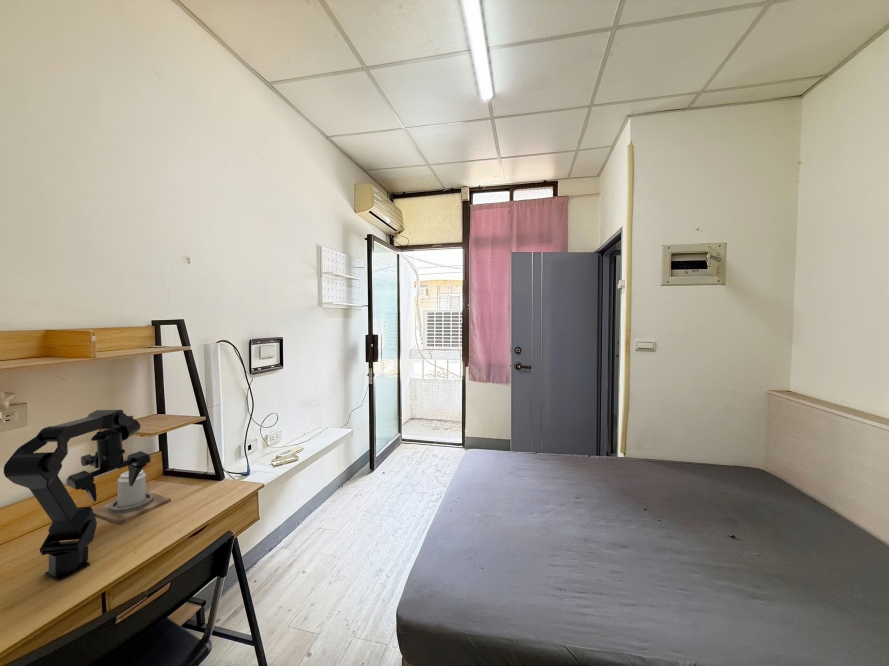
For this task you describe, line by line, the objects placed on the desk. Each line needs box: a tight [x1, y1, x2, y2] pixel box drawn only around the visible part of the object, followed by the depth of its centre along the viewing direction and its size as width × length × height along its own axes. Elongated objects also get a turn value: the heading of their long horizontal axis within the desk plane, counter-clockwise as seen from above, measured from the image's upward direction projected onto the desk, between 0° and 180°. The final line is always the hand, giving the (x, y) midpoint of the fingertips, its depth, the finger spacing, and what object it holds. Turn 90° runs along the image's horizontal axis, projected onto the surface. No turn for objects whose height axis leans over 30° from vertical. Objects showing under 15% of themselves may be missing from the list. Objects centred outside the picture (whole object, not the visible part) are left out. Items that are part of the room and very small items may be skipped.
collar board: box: [92, 491, 172, 526], centre depth 124 cm, size 16×16×3 cm
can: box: [117, 469, 147, 508], centre depth 123 cm, size 8×8×12 cm
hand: (113, 493), depth 110 cm, fingers open, 9 cm apart
